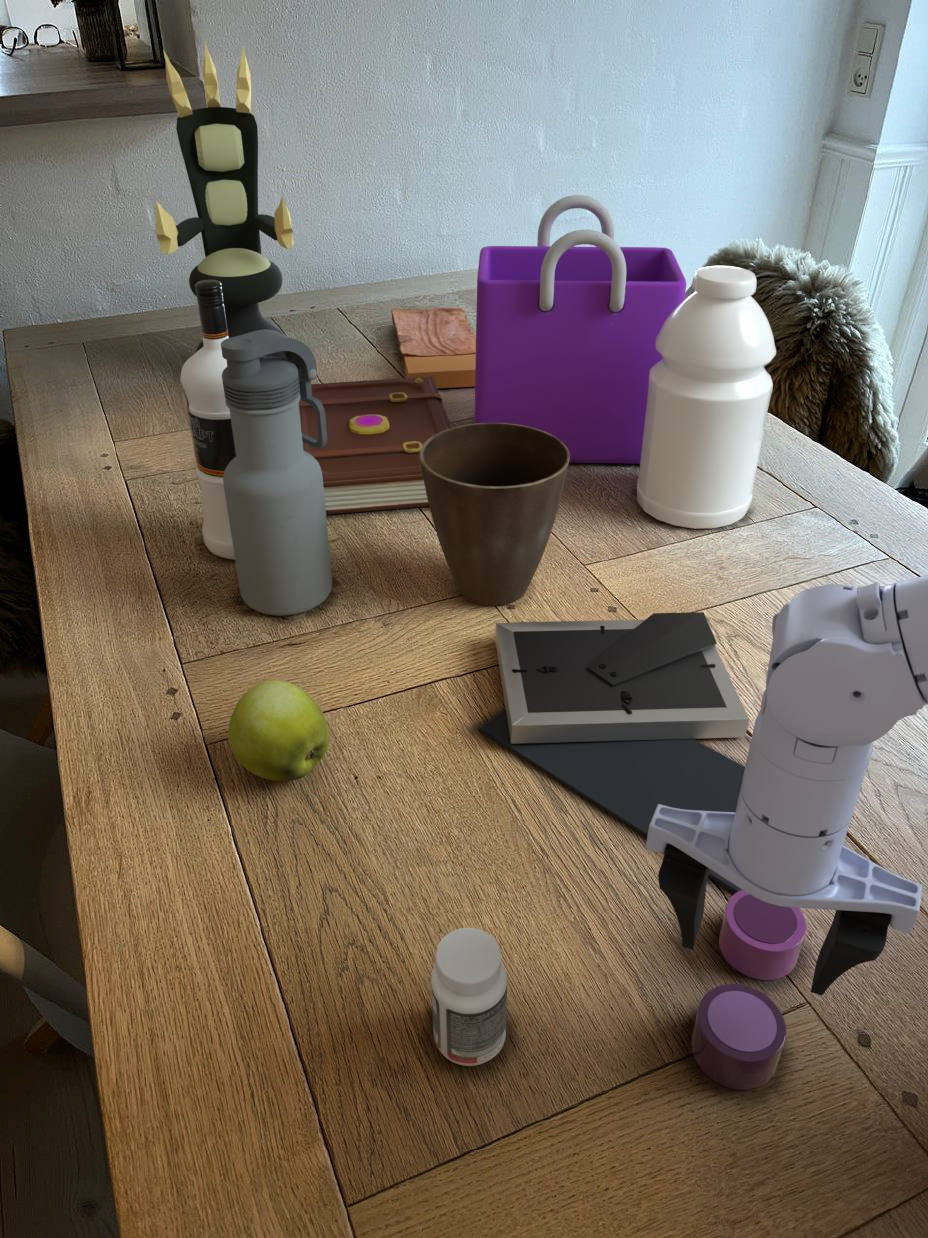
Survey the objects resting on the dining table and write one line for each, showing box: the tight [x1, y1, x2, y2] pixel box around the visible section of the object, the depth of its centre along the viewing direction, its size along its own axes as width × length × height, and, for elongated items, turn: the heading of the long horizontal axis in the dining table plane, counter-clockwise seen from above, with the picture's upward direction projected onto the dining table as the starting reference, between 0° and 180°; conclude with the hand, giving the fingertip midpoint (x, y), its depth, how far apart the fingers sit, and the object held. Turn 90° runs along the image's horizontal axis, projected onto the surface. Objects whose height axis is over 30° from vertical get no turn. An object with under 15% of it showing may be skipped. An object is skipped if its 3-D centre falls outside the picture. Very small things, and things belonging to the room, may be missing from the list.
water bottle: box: [221, 329, 333, 617], centre depth 100 cm, size 10×10×28 cm
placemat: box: [478, 708, 745, 894], centre depth 85 cm, size 28×12×1 cm, turn 46°
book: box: [299, 376, 452, 515], centre depth 134 cm, size 23×32×5 cm
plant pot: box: [420, 423, 570, 607], centre depth 104 cm, size 15×15×16 cm
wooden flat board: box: [390, 307, 476, 389], centre depth 165 cm, size 13×30×3 cm, turn 8°
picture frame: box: [494, 611, 750, 744], centre depth 93 cm, size 16×3×21 cm
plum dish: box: [718, 890, 807, 981], centre depth 70 cm, size 5×5×3 cm
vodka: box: [179, 280, 236, 561], centre depth 108 cm, size 9×9×30 cm
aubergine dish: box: [690, 983, 787, 1091], centre depth 63 cm, size 5×5×3 cm
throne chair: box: [155, 40, 294, 360], centre depth 149 cm, size 19×22×45 cm
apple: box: [227, 679, 331, 782], centre depth 84 cm, size 8×9×8 cm
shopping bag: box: [473, 194, 687, 465], centre depth 131 cm, size 28×22×30 cm
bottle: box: [636, 265, 777, 529], centre depth 116 cm, size 14×14×28 cm
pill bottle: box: [430, 927, 508, 1067], centre depth 63 cm, size 5×5×8 cm
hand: (753, 958), depth 61 cm, fingers open, 7 cm apart
